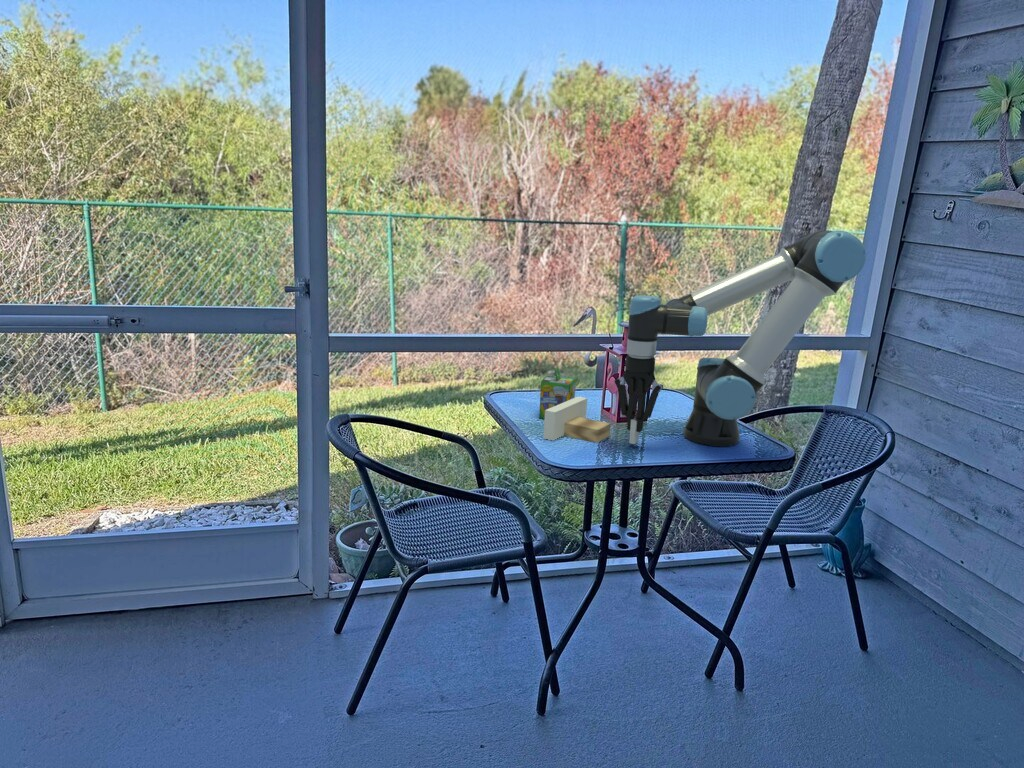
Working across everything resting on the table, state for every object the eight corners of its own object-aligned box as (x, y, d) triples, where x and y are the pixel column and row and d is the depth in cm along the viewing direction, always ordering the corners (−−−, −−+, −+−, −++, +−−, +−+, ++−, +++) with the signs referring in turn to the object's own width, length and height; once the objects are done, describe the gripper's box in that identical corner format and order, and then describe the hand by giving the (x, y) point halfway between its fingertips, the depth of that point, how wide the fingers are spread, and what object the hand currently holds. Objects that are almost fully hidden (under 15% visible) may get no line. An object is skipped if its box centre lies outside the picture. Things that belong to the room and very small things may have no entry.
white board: (585, 424, 214) (587, 398, 212) (552, 441, 197) (555, 412, 195) (576, 422, 216) (578, 396, 214) (543, 438, 199) (545, 410, 197)
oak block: (609, 437, 205) (610, 423, 204) (597, 444, 198) (598, 430, 197) (577, 430, 210) (578, 416, 209) (564, 436, 203) (565, 422, 202)
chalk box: (568, 422, 215) (572, 373, 212) (538, 418, 218) (541, 370, 214) (574, 414, 224) (578, 367, 221) (545, 411, 226) (548, 364, 223)
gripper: (669, 357, 191) (662, 443, 196) (623, 350, 197) (616, 434, 203) (659, 361, 184) (651, 450, 190) (611, 354, 191) (605, 441, 196)
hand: (633, 442), depth 196 cm, fingers closed
